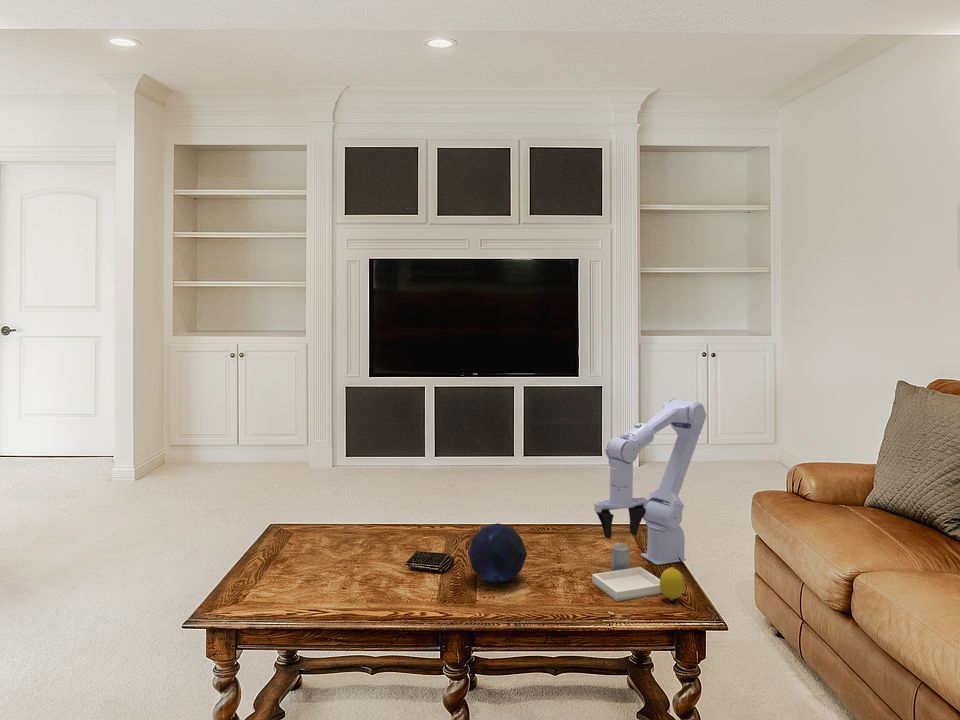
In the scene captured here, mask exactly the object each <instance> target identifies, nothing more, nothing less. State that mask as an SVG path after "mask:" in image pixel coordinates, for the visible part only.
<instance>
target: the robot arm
mask: <svg viewBox="0 0 960 720" xmlns="http://www.w3.org/2000/svg"><path fill="white" fill-rule="evenodd" d="M706 418H707V412H706V410H705V406H704V405H703V403H701V402H700V401H689V400H682V399H677V398H669V399H668V400H667V401H666V402H664V403H663V405H662V409H661V410H660V411H658V412H657V413H656V414H655V415H654V416H652V417H651V419H649V420H648V421H647V422H646V423H643V422H639V423H638V422H636V423H635V424H634V425H633V427H631V429H629V430H628V431H626V432H624V433H622V435H621V436H619V437H616V436H615V437H613V438H611V439H610V440H609V441H608V442H607V443H606V448H605V449H604V450H605V451H604V452H605V456H606V457H607V458H608V464H609V469H610V470H609V474H610V475H609V499H606V500H603V501H600V502H594V503H593V504H594V506H593V507H594V509H593V510H594V511H595V513H596V515H597V517H598V519H599V521H600V524H601V527H602V531H603V534H604V535H603V536H604V538H606V539H607V540H610V539H612V526H613V524H612V523H613V519H614V514H612V513H611V511H613V510H623V509H628V515H629V534H631V535H632V536H637V535H638V531H639V529H640V524H641V521H642V520H644V521H645V525H646V526H647V543H646V544H647V548H646V549H647V550H646V551H647V552H644V553H643V552H642V553H640V556H641V557H642V558H644V559H645V560H648V561H649V562H651V563H652V564H654V565H656V566H658V565H660V566H661V565H666V564H672V563H678V562H686V560H687V559H686V557H685V545H686V544H685V543H686V542H685V533H684V530H683V528H682V527H681V526H680V524H681V522H682V520H683V509H684V507H685V506H684V503H683V501H682V499H680V497H679V495H680V491H681V489H682V485H683V483H684V480H685V477H686V475H687V472H688V469H689V466H690V463H691V460H692V458H693V455H694V452H695V449H696V446H697V443H698V441H699V438H700V435H701V433H702V429H703V427H704V424H705V421H706ZM668 426H670V427H671V428H672V429H673V431H674V432H676V435H677V437H676V439H675V442H674V445H673V448H672V451H671V454H670V457H669V460H668V462H667V465H666V468H665V471H664V473H663V477H662V479H661V482H660V484H659V488H657V489H656V490H654V491H652V492H649V494H648V497H647V498H645V497H633V489H634V488H633V487H634V486H633V482H634V481H633V479H634V478H633V477H634V462H635V461H636V460H637V458H638V456H639V453H641V450H642V449H644V448H645V447H647V446H648V445H650V443H652V442H653V441H654V438H655V434H657V433H658V432H661V430H663V429H665V428H666V427H668ZM678 557H679V558H680V559H681V561H680V560H679V558H678Z"/></svg>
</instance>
